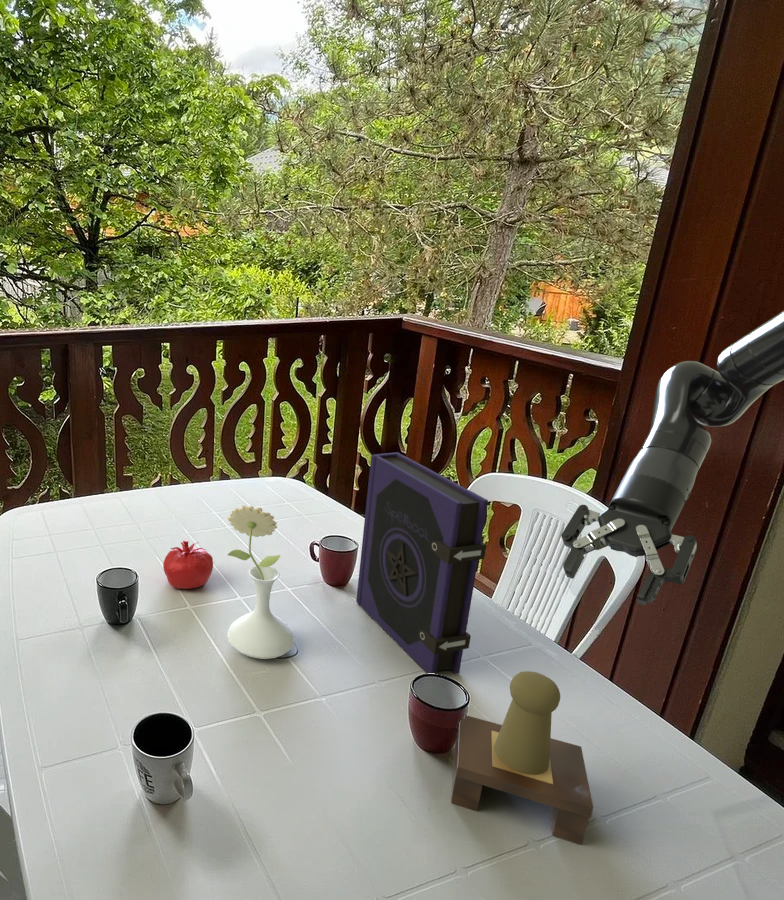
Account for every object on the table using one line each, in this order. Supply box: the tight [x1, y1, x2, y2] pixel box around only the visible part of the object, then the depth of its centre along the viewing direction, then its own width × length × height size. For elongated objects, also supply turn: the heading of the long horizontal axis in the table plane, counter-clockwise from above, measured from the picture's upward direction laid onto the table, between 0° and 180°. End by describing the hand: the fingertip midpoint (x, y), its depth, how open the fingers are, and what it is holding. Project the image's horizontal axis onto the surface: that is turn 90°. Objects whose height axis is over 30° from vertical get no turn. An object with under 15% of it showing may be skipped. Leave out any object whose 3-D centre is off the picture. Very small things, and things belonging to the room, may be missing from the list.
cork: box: [494, 670, 561, 775], centre depth 76 cm, size 6×6×11 cm
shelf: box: [450, 714, 594, 846], centre depth 78 cm, size 14×10×6 cm
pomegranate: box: [162, 539, 214, 590], centre depth 127 cm, size 10×10×9 cm
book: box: [355, 452, 489, 675], centre depth 107 cm, size 24×6×30 cm, turn 15°
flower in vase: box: [226, 505, 296, 660], centre depth 105 cm, size 13×11×25 cm
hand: (603, 588), depth 84 cm, fingers open, 8 cm apart
